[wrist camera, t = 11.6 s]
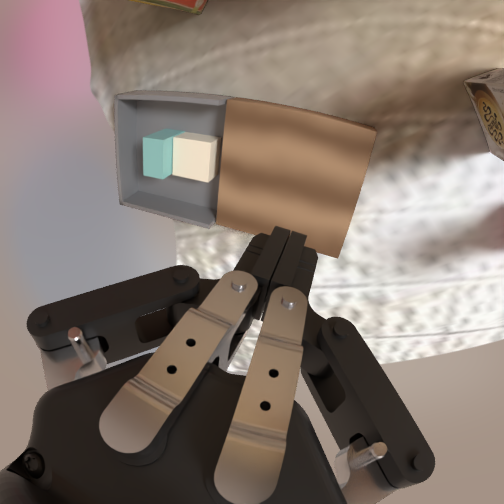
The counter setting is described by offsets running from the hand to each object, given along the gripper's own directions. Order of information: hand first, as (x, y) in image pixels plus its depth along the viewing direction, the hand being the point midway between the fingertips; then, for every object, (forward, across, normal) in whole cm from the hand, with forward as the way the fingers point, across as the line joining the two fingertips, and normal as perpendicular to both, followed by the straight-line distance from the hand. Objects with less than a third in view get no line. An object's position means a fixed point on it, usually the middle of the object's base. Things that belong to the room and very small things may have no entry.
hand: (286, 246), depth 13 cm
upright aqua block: (+19, +18, +5) cm, 26 cm away
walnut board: (+22, +3, +5) cm, 23 cm away
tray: (+22, +19, +6) cm, 30 cm away
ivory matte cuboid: (+22, +15, +5) cm, 27 cm away
